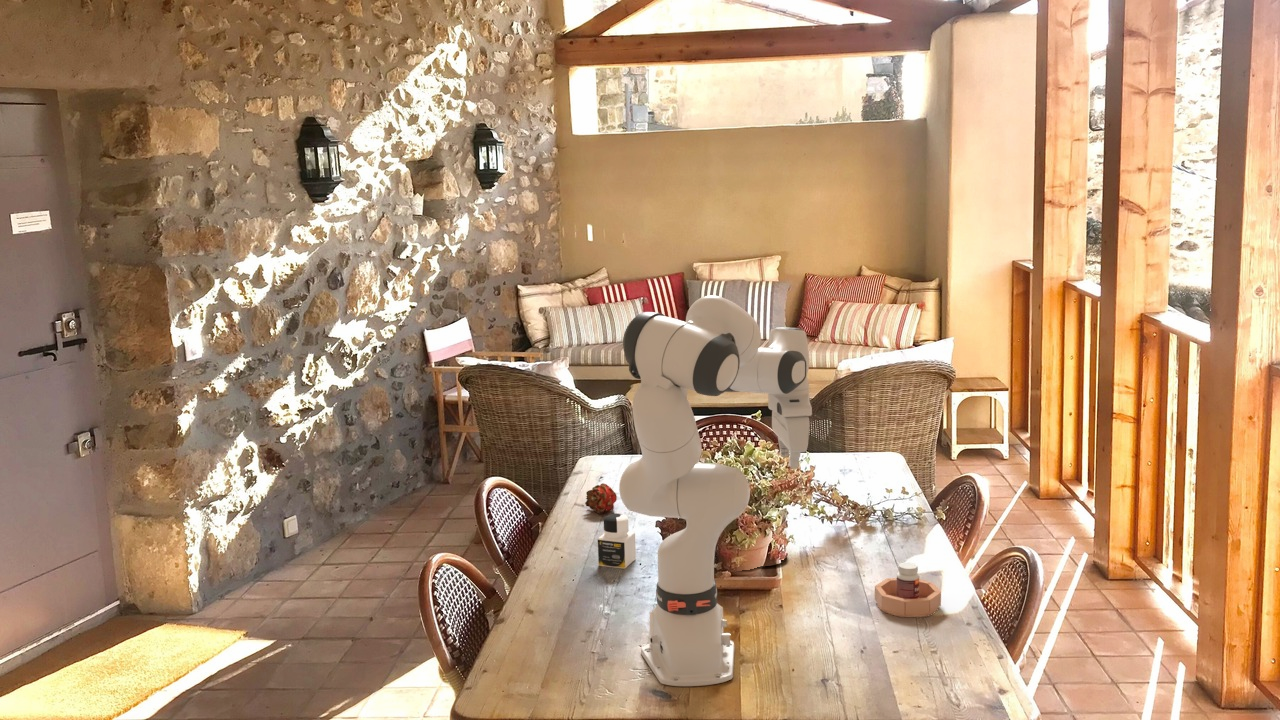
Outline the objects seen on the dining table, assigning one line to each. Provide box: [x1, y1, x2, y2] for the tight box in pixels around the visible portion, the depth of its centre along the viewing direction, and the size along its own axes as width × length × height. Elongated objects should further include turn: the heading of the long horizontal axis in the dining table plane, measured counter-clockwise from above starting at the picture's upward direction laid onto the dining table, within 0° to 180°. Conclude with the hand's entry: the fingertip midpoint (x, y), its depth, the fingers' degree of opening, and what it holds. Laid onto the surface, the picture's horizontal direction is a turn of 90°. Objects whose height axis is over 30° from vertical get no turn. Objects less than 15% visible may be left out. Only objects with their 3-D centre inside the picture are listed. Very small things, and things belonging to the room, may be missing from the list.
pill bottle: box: [896, 561, 920, 599], centre depth 238 cm, size 5×5×8 cm
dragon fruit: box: [584, 482, 618, 515], centre depth 309 cm, size 8×8×12 cm
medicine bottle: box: [597, 513, 637, 570], centre depth 268 cm, size 7×7×12 cm
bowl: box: [874, 577, 942, 618], centre depth 238 cm, size 13×13×4 cm
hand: (789, 461), depth 240 cm, fingers open, 8 cm apart
